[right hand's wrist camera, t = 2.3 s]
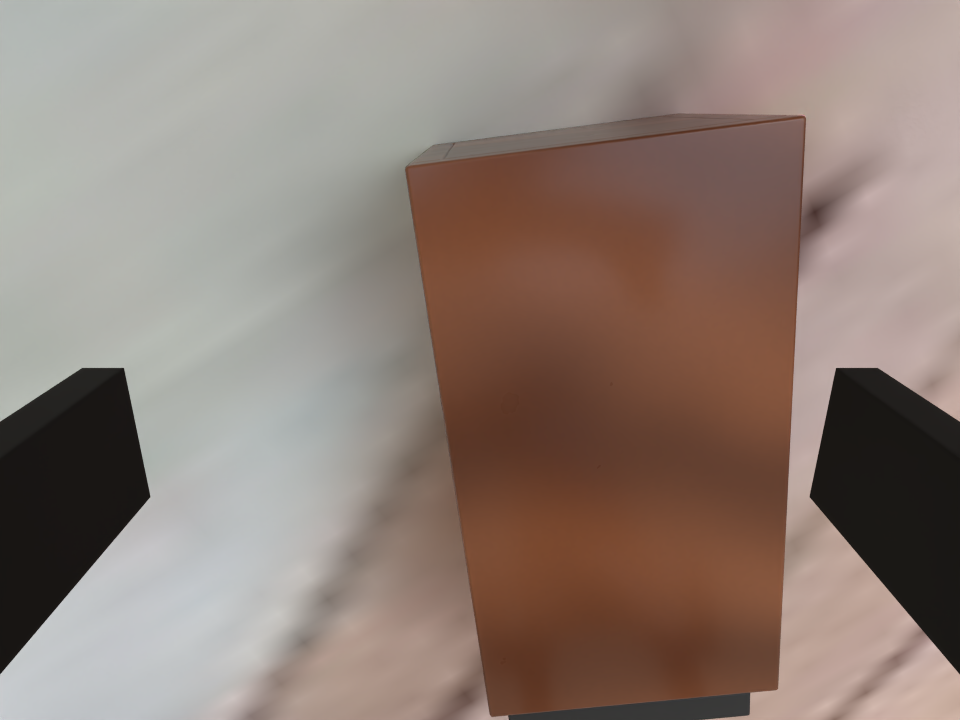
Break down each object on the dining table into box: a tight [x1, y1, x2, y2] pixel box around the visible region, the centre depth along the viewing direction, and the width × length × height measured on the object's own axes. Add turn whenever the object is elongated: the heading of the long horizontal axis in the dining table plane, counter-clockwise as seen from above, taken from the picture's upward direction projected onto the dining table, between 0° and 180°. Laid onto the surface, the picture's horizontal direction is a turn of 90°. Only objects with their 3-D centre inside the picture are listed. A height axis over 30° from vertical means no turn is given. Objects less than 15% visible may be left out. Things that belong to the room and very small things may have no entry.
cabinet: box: [405, 114, 806, 717], centre depth 26 cm, size 20×11×12 cm, turn 7°
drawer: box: [508, 693, 750, 720], centre depth 28 cm, size 24×9×10 cm, turn 7°
